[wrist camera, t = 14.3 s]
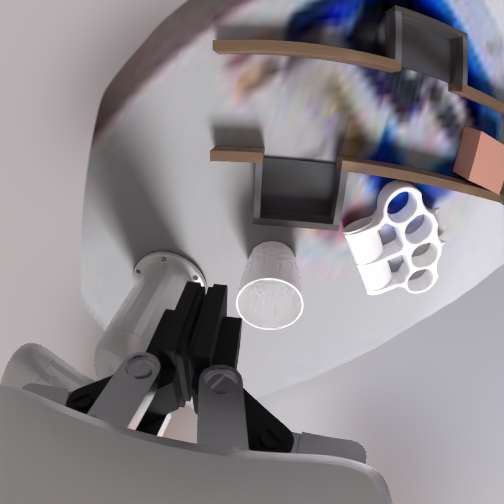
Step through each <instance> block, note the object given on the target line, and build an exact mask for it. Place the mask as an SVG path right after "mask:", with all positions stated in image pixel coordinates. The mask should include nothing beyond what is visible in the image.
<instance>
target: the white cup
mask: <svg viewBox="0 0 504 504" xmlns="http://www.w3.org/2000/svg"><path fill="white" fill-rule="evenodd" d="M303 306H304V302H303V295H302V289H301V282H300V277H299V272H298V267H297V264H296V258H295V256H294V254H293V251H292V249H290V248H289V247H288V246H286V245H285V244H284V243H281V242H277V241H267V242H262V243H261V244H259V245H258V246H256V247H254V249H253V250H252V252H251V254H250V256H249V259H248V262H247V264H246V267H245V270H244V273H243V276H242V280H241V283H240V287H239V290H238V294H237V297H236V308H237V311H238V313H239V315H240V316H241V317H242V319H243V320H245V321H246V322H247V323H249V324H250V325H252V326H254V327H257V328H261V329H267V330H274V329H280V328H284V327H287V326H289V325H291V324H292V323H294V322H295V321H296V320H297V319H298V318H299V317H300V315H301V313H302V311H303Z"/></svg>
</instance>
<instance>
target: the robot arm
mask: <svg viewBox="0 0 504 504" xmlns="http://www.w3.org/2000/svg"><path fill="white" fill-rule="evenodd" d="M133 283H134V287H133V288H132V290H131V291H130V293H129V294H128V296H127V297H126V299H125V300H124V302H123V304H122V305H121V307H120V308H119V310H118V311H117V313H116V314H115V316H114V318H113V319H112V321H111V322H110V324H109V326H108V327H107V329H106V330H105V332H104V334H103V336H102V337H101V339H100V340H99V342H98V344H97V347H96V350H95V357H94V361H95V370H96V375H97V380H98V381H95V380H93V379H90V378H89V377H87V376H86V375H84V374H83V373H81V372H80V371H78V370H77V369H75V368H74V367H72V366H71V365H69V364H68V363H67V362H65V361H64V360H62V359H61V358H60V357H58V356H57V355H55V354H54V353H52V352H51V351H50V350H48V349H47V348H45V347H43V346H41V345H39V344H35V343H28V344H25V345H23V346H21V347H20V348H19V349H18V350H17V351H16V352H15V353H14V354H13V356H12V357H11V359H10V361H9V362H8V364H7V366H6V369H5V371H4V374H3V376H2V380H1V383H0V504H392V499H391V495H390V492H389V489H388V486H387V484H386V482H385V480H384V478H383V476H382V475H381V474H380V473H379V472H378V471H377V470H375V469H374V468H372V467H370V466H368V465H365V463H366V451H365V449H364V448H363V446H362V445H360V444H359V443H358V442H354V441H352V440H344V439H338V438H331V437H325V436H320V435H315V434H310V433H305V432H302V433H301V434H299V433H294V432H291V431H290V430H289V429H288V428H287V427H286V426H285V425H284V424H283V423H281V422H280V421H279V420H278V419H277V418H276V417H274V416H273V415H272V414H271V413H270V412H269V411H268V410H267V409H265V408H264V407H263V406H262V405H261V404H260V403H259V402H258V401H257V400H256V399H254V398H253V397H252V396H251V395H250V394H249V393H248V392H247V391H246V390H245V389H244V388H243V381H242V377H241V375H240V373H239V372H238V371H237V363H238V355H239V348H240V338H241V326H242V318H235V317H227V285H219V284H214V285H213V287H208V290H207V285H206V281H205V279H204V277H203V275H202V273H201V272H200V271H199V269H198V268H197V267H196V266H195V265H194V264H193V263H191V262H190V261H189V260H187V259H186V258H184V257H182V256H180V255H177V254H174V253H171V252H154V253H150V254H148V255H146V256H144V257H143V258H142V259H141V260H140V261H139V263H138V264H137V265H136V267H135V269H134V273H133ZM191 397H192V398H193V404H194V410H195V413H196V414H197V415H198V424H197V444H195V443H189V442H184V441H179V440H174V439H169V438H164V437H162V436H163V433H164V431H165V429H166V427H167V425H168V423H169V421H170V419H171V416H172V412H173V411H175V410H177V409H178V408H179V407H184V406H185V402H186V401H190V400H191Z"/></svg>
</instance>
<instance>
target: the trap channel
mask: <svg viewBox="0 0 504 504" xmlns="http://www.w3.org/2000/svg"><path fill="white" fill-rule="evenodd" d="M213 50H214V51H215V52H216V53H218V54H265V55H283V56H295V57H305V58H314V59H322V60H329V61H336V62H342V63H347V64H353V65H358V66H363V67H368V68H372V69H377V70H381V71H385V72H389V73H392V72H397V71H401V67H403V68H406V69H409V70H413V71H416V72H419V73H422V74H425V75H428V76H431V77H434V78H437V79H440V80H442V81H445V82H448V83H449V89H448V91H450V92H452V93H455V94H457V95H460V96H462V97H465V98H467V99H470V100H472V101H474V102H476V103H479V104H481V105H483V106H485V107H487V108H490V109H492V110H494V111H496V112H498V113H500V114H501V121H500V129H499V137H498V141H499V142H500V143H502V144H503V145H504V103H503V102H501V101H499V100H497V99H495V98H493V97H491V96H489V95H487V94H485V93H483V92H481V91H479V90H477V89H474V88H472V87H470V86H468V85H467V78H468V39H467V34H466V33H464V32H462V31H460V30H458V29H456V28H454V27H452V26H449V25H447V24H445V23H443V22H440V21H438V20H435V19H433V18H430V17H428V16H425V15H423V14H420V13H417V12H414V11H412V10H409V9H406V8H403V7H400V6H396V5H395V6H393V7H392V8H390V9H389V10H388V11H386V49H385V57H383V56H379V55H374V54H370V53H366V52H361V51H356V50H351V49H345V48H340V47H333V46H327V45H320V44H312V43H303V42H292V41H278V40H252V39H233V40H213ZM264 151H265V148H255V147H232V146H216V147H215V148H213V149H212V150H211V151H210V161H230V162H251V163H255V185H254V208H253V224H262V225H275V226H288V227H300V228H311V229H323V230H334V231H338V230H339V224H340V219H341V213H342V207H343V201H344V195H345V188H346V181H347V175H348V172H355V173H362V174H369V175H376V176H382V177H388V178H394V179H400V180H405V181H411V182H416V183H421V184H426V185H431V186H435V187H440V188H445V189H449V190H453V191H458V192H462V193H466V194H470V195H474V196H478V197H482V198H485V199H489V200H493V201H496V202H500V203H501V204H503V205H504V181H503V185H502V188H501V191H500V194H499V195H498V194H496V193H494V192H492V191H490V190H488V189H486V188H484V187H482V186H480V185H478V184H476V183H474V182H470V181H466V180H463V179H459V178H455V177H451V176H447V175H443V174H439V173H435V172H430V171H426V170H421V169H417V168H412V167H407V166H402V165H397V164H391V163H386V162H380V161H374V160H368V159H362V158H355V157H348V156H341V155H337V158H336V164H331V163H322V162H313V161H303V160H292V159H280V158H266V157H264Z"/></svg>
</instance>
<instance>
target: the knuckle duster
mask: <svg viewBox="0 0 504 504" xmlns="http://www.w3.org/2000/svg"><path fill="white" fill-rule="evenodd" d="M404 191H407V192H408V195H409V199H408V202H407V204H406V206H405V207H404V208H403V209H401V210H400V211H399V212H397V213H395V214H389V213H387V207H388V204H389V202H390V201H391V200H392V199H393V198H394V197H395V196H396V195H397V194H399V193H400V192H404ZM438 210H439V208H433V209H428V208H427V207H426V206H424V204H423V201H422V193H421V192H420V191H419V190H418V189H417V188H415V187H414V186H413V185H411V184H410V183H409V182H407V181H404V180H395V181H392V182H389V183H388V184H386V185H385V186H384V187H383V188H382V190H381V191H380V193H379V195H378V199H377V209H376V210H375V212H374V213H373V215H372V216H369V217H366V218H362V219H359V220H357V221H355V222H352V223H351V224H349V225H347V226H346V227H345V228H344V229H343V232H344V235H345V237H346V240H347V242H348V244H349V247H350V249H351V252H352V254H353V257H354V259H355V262H356V264H357V267H358V269H359V272H360V274H361V277H362V280H363V282H364V285H365V288H366V290H367V293H368V294H369V295H378V294H381V293H384V292H386V291H388V290H391V289H393V288H395V287H398V286H399V287H405V289H406V290H407V291H409V292H411V293H422V292H424V291H426V290H428V289H429V288H431V287H432V286H433V285H434V283H435V282H436V280H437V278H438V276H439V274H438V272H437V262H438V259H439V257H440V256H441V251H442V245H443V244H444V243H445V242H446V241H443V240H440V239H439V237H438V233H437V230H438V222H437V220H436V218H435V216H436V214H437V212H438ZM421 214H424V221H423V223H422V225H421V226H420V227H419V228H418V229H417V230H416V231H414V232H413V233H410V234H405V229H406V227H407V225H408V224H409V222H410V221H412V220H413V219H414V218H415V217H416V216H418V215H421ZM385 223H388V224H390V225H392V226H394V228H395V232H396V238H395V240H393V241H391V242H389V243H387V244H385V245H382V242H381V239H380V236H379V233H378V230H379V229H380V228H381V226H382V225H383V224H385ZM425 243H430V246H429V248H428V250H427V251H426V252H425V253H424V254H422V255H420V256H414V257H413V256H412V253H413V251H414V250H415V249H416V247H418V246H419V245H421V244H425ZM399 255H402V256H403V263H402V264H401V266H400V268H399V270H398V271H397V272H391V270H390V267H389V264H388V260H390V259H393V258H395V257H397V256H399ZM423 269H426V270H425V272H424V274H423V275H422V276H421V277H419V278H417V279H413V280H408V279H409V277H410V276H411V275H412V274H413V273H414V272H416V271H418V270H423Z"/></svg>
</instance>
